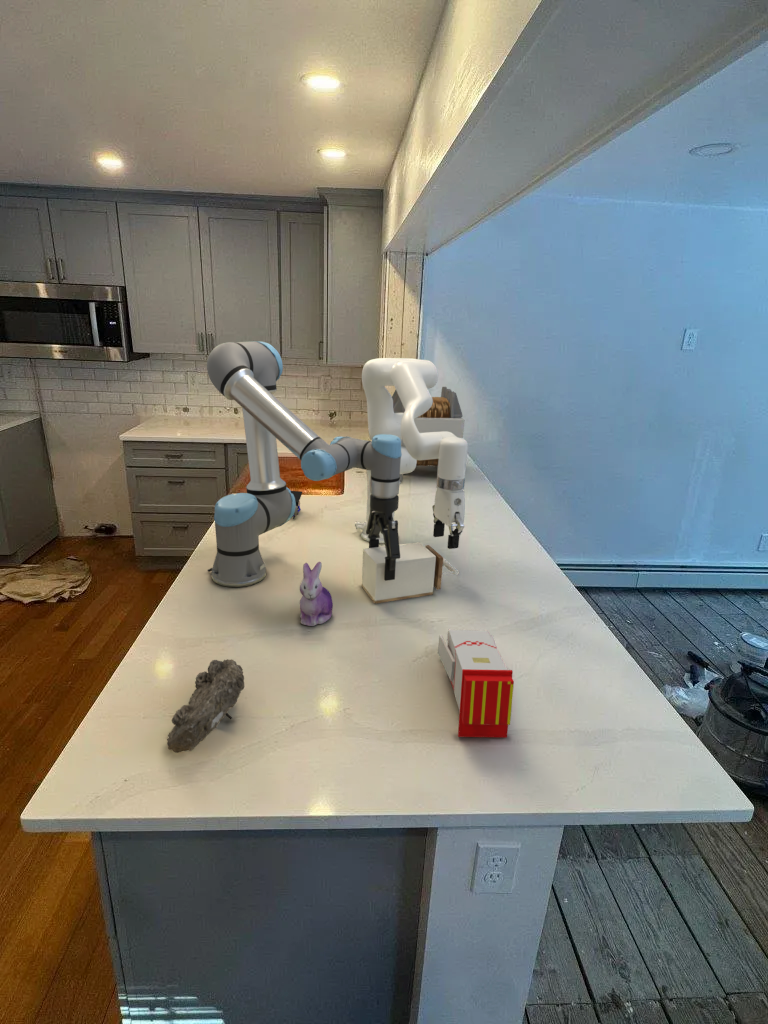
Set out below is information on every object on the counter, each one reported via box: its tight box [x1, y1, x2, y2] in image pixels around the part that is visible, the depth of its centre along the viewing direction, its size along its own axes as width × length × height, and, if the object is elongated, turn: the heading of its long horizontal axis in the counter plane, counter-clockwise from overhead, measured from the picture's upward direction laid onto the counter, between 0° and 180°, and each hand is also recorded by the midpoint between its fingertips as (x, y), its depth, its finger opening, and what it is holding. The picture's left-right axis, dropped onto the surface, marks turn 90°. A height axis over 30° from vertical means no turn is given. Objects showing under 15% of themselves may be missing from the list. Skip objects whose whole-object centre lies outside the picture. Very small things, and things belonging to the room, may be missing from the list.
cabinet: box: [361, 541, 436, 604], centre depth 158 cm, size 17×10×12 cm, turn 112°
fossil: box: [166, 658, 245, 754], centre depth 106 cm, size 22×10×15 cm
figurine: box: [299, 561, 334, 627], centre depth 141 cm, size 9×10×15 cm
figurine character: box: [291, 490, 303, 520], centre depth 212 cm, size 7×8×15 cm
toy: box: [437, 628, 515, 738], centre depth 117 cm, size 12×13×30 cm
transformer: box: [391, 386, 465, 483], centre depth 268 cm, size 34×33×41 cm
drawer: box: [424, 544, 460, 591], centre depth 160 cm, size 22×9×10 cm, turn 112°
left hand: (381, 570), depth 156 cm, fingers open, 11 cm apart
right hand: (445, 541), depth 160 cm, fingers open, 8 cm apart
